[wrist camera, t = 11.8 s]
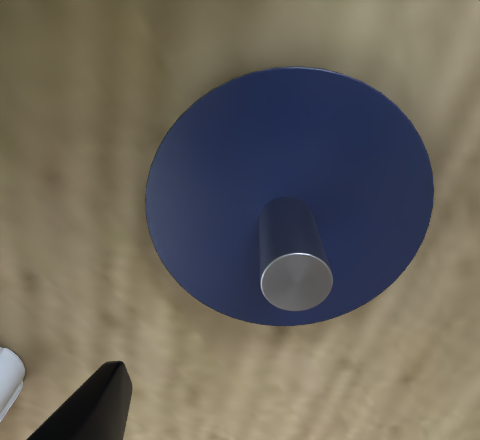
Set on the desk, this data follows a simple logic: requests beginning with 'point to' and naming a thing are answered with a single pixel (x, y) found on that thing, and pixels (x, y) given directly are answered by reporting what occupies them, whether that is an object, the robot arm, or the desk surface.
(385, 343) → the desk surface
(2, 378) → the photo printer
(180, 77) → the desk surface
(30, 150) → the desk surface
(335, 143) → the lid
